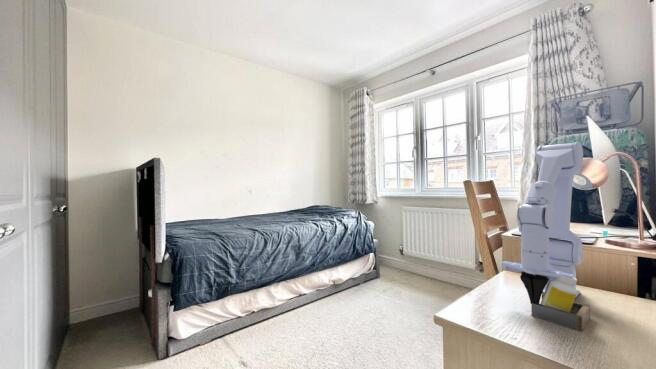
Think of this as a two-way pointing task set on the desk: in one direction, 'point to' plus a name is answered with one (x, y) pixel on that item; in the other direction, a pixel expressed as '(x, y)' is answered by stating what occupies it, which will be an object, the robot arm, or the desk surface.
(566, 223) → the robot arm
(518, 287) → the desk surface
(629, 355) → the desk surface
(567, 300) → the supplement bottle
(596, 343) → the desk surface
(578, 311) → the bracket
